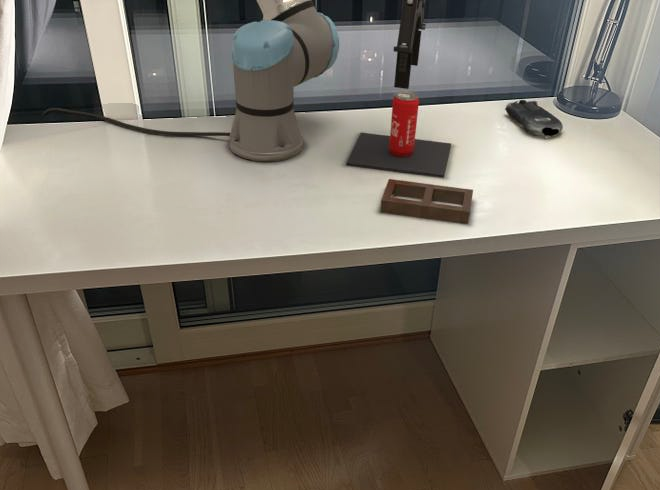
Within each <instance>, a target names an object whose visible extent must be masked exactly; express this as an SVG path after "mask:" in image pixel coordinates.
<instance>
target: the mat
mask: <svg viewBox="0 0 660 490" xmlns="http://www.w3.org/2000/svg"><path fill="white" fill-rule="evenodd" d="M389 142H390V135H385V134H376V133H371V132H370V133H369V132H362V131H361V132H360V133H359V135H358V138H357V139H356V142H355V143H354V146H353V148H352V150H351V152H350V154H349V156H348V158H347V161H346V163H345V166H347V167H357V168H365V169H373V170H380V171H388V172H396V173H403V174H412V175H419V176H427V177H434V178H443V179H444V178H445V176H446V175H445V174H446V170H447V165H448V161H449V157H450V153H451V152H450V151H451V148H452V143H450V142H443V141H435V140H427V139H419V138H418V139H417V138H415V143H414V150H413V151H412V153H411V155H410V156H408V157H397V156H394V155H392V154H391V151H390V148H389Z"/></svg>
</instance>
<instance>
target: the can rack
mask: <svg viewBox="0 0 660 490" xmlns="http://www.w3.org/2000/svg"><path fill="white" fill-rule="evenodd" d="M473 195H474V189H471V188H463V187H457V186H456V187H454V186H447V185H438V184H432V183H424V182H416V181H408V180H401V179H393V178H388V180H387V183H386V186H385V188H384V191H383V194H382V196H381V199H380V211H379V212H380V213H384V214H392V215H399V216H406V217H415V218H421V219H428V220H429V219H430V220H437V221H443V222H450V223H451V222H452V223H459V224H466V225H468V224H469V220H470V216H471V210H472V209H471V208H472V201H473ZM395 196H398V197H395ZM400 197H406V198H400ZM407 198H412V199H407ZM413 198H414V199H413ZM415 199H421V200H415ZM433 201H436V202H433ZM437 202H444V203H445V204H444V203H437ZM446 203H452V204H446ZM453 204H459V205H461V206H458V205H453Z"/></svg>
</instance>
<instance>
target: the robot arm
mask: <svg viewBox="0 0 660 490" xmlns="http://www.w3.org/2000/svg"><path fill="white" fill-rule="evenodd" d="M256 2H257V4H258V6H259V8H260V11H261V12H262V15H263V17H262V19H261V20H260V21H252V22H249V23H246V24H244V25H242V26H240V27H239V28H238V29H237V30H236V31H235V32H234V34H233V37H232V51H231V60H232V66H233V67H232V68H233V80H234V81H233V82H234V93H235V94H234V95H235V114H234V118H233V121H232V125H231V130H230V132H226V131H225V132H220V131H218V132H217V131H207V132H206V131H203V132H202V131H169V130H168V131H167V130H159V129H152V128H146V127H142V126H137V125H134V124H130V123H125V122H122V121H120V120H117V119H114V118H110V117H108V116H104V115H100V114H95V113H90V112H85V111H77V110H71V109H66V108H60V107H50V108H48V109H46V110H44V112H42V114H41V115H42V116H43V117H44V116H47V115H49V114H50V113H53V112H54V113H55V112H58V113H59V112H60V113H63V114H70V115H75V116H83V117H89V118H94V119H98V120H102V121H106V122H109V123H111V124H112V123H113V124H116V125H118V126H121V127H124V128H127V129H132V130H135V131H138V132H144V133H150V134H155V135H164V136H181V137H182V136H183V137H184V136H185V137H190V136H191V137H228V141H229V149H230V151H231V153H234V154H235V155H236V156H238V157H239V158H242V159H246V160H250V161H256V162H278V161H284V160H287V159H291V158H293V157H296V155H297V156H298V154H300V153H301V152H302V150H303V147H304V146H303V145H304V143H303V141H304V139H303V134H302V131H301V128H300V126H299V122H298V119H297V116H296V113H295V109H294V107H295V106H294V98H295V97H294V89H295V87H297V86H299V85H301V84H304V83H306V82H307V81H310V80H312V79H314V78H318V77H319V76H321V75H323V74H324V73H325V72H327V71H328V70H329V69H330V68H332V67H333V65H334V64H335V63H336V61H337V59H338V54H339V51H340V35H339V33H338V32H339V31H338V30H337V29H338V28H337V26H336V25H335V23H334V21H332V19H331V18H330V17H329V16H327V15H324V13H322V12H318V11H317V9H316V6H315V5H314V3H313V0H256ZM425 3H426V0H402V5H401V15H400V22H399V29H398V36H397V42H396V43H397V44H396V46H393V52H395V53H396V63H395V64H396V65H395V73H394V85H393V88H397V89H404V90H409V88H410V80H411V72H412V71H411V70H412V66H415V67H418V65H419V57H420V49H421V47H420V46H421V39H422V31H425V30H426V25H427V24H426V23H424V21H425V20H424V19H425V18H424V14H425Z"/></svg>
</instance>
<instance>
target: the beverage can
mask: <svg viewBox="0 0 660 490" xmlns="http://www.w3.org/2000/svg"><path fill="white" fill-rule="evenodd" d="M419 105H420V99H419V94H417V93H416V92H413V91H407V90H401V91H396V92H395V93H394V96H393V98H392V107H391V120H390V130H389V131H390V132H389V136H390V142H389V148H390V151H391V154H392V155H394V156H397V157H408V156H410V155H411V153H412V151H413V150H414V143H415V139H416V133H417V123H418V115H419Z"/></svg>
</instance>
